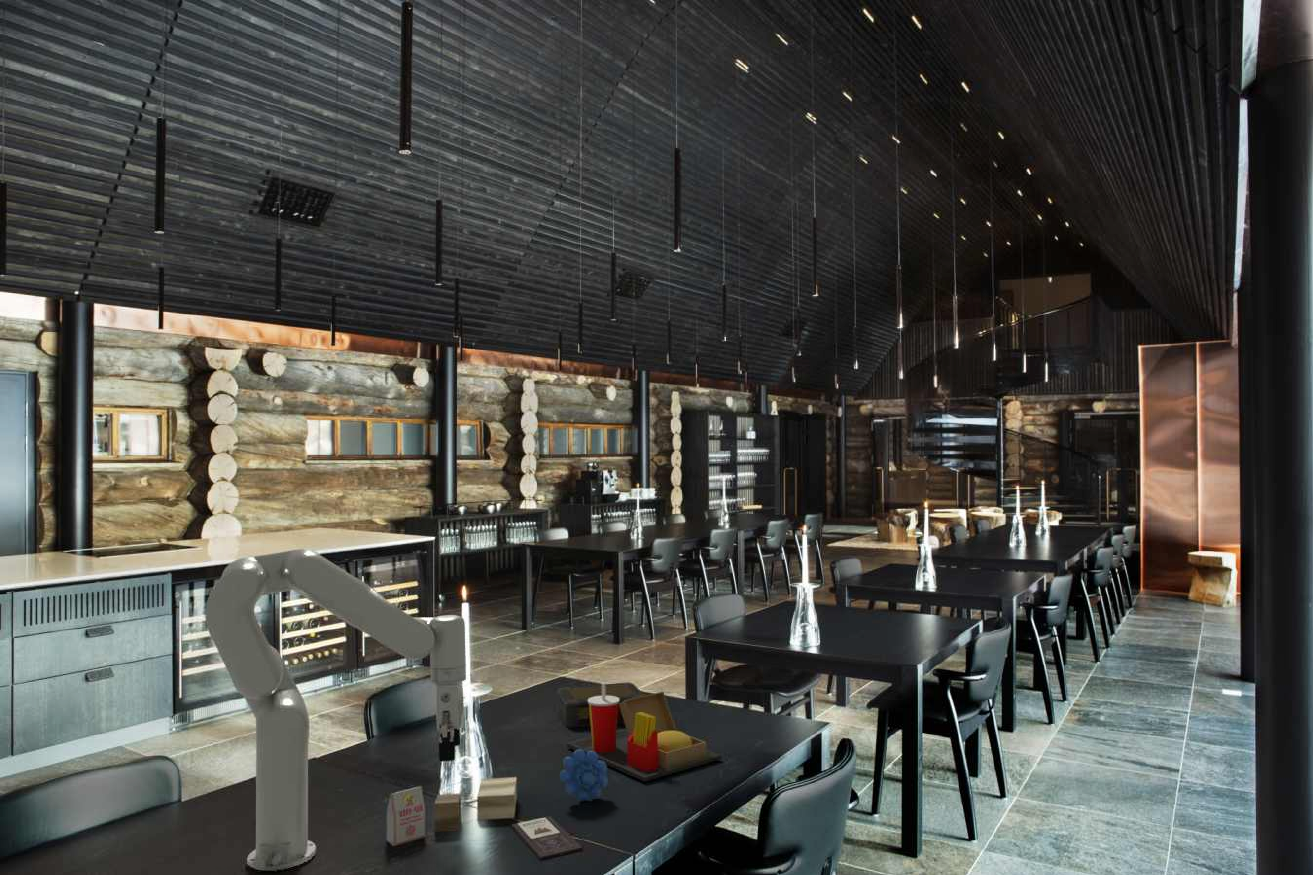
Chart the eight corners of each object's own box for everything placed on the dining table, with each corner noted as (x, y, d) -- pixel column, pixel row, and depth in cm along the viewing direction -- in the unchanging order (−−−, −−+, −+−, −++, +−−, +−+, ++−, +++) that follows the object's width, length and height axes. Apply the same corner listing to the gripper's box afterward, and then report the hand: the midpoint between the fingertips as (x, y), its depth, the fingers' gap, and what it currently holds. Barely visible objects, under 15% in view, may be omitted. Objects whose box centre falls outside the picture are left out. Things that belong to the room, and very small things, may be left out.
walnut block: (458, 830, 182) (458, 802, 182) (434, 832, 182) (434, 803, 182) (461, 821, 187) (461, 793, 187) (437, 822, 187) (437, 794, 187)
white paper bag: (386, 840, 178) (386, 791, 178) (417, 831, 182) (417, 783, 182) (393, 846, 175) (393, 796, 175) (424, 836, 179) (424, 788, 180)
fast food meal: (644, 785, 208) (643, 708, 208) (567, 750, 235) (566, 682, 236) (721, 762, 224) (720, 691, 224) (640, 731, 251) (639, 668, 252)
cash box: (632, 704, 280) (632, 680, 280) (647, 722, 260) (647, 696, 261) (556, 711, 273) (556, 686, 274) (566, 729, 254) (566, 703, 254)
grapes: (566, 811, 191) (565, 757, 192) (557, 801, 197) (556, 748, 198) (614, 803, 196) (614, 750, 196) (604, 793, 202) (603, 741, 203)
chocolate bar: (540, 857, 168) (511, 824, 184) (540, 862, 168) (511, 828, 184) (582, 847, 172) (550, 815, 188) (582, 852, 172) (550, 820, 188)
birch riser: (514, 817, 188) (514, 794, 189) (477, 819, 188) (477, 796, 188) (516, 798, 199) (516, 776, 200) (481, 800, 198) (481, 778, 199)
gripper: (461, 682, 178) (463, 765, 177) (469, 663, 195) (471, 739, 194) (424, 684, 177) (426, 768, 176) (436, 665, 194) (437, 741, 193)
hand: (450, 752), depth 185 cm, fingers open, 9 cm apart
